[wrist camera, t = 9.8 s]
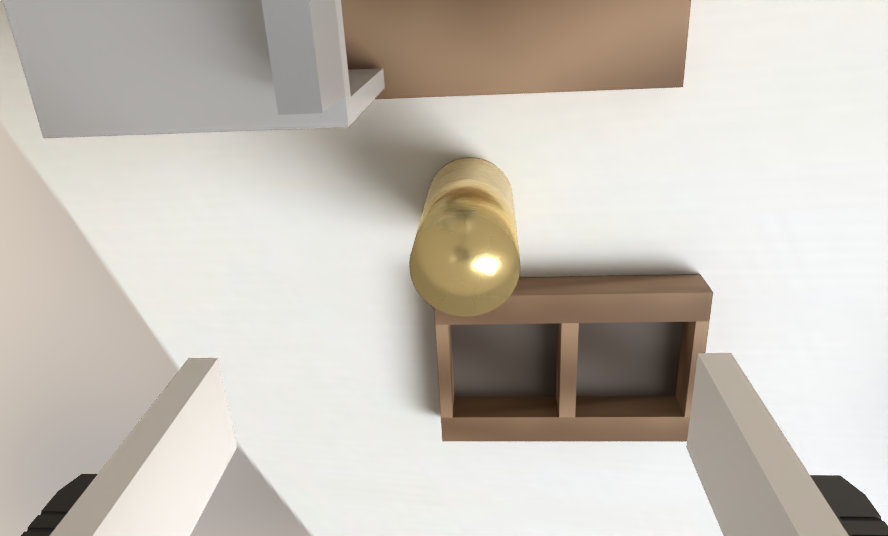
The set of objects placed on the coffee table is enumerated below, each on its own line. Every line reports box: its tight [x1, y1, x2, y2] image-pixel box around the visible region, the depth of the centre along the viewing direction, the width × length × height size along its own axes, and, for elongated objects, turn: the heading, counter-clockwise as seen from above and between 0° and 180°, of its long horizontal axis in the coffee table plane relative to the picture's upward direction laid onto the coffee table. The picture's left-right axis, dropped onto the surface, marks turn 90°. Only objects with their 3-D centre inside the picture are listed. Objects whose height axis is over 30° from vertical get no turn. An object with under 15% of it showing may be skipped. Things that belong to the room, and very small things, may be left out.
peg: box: [409, 158, 520, 317], centre depth 27 cm, size 4×4×8 cm
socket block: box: [434, 274, 713, 441], centre depth 33 cm, size 8×13×2 cm, turn 93°
